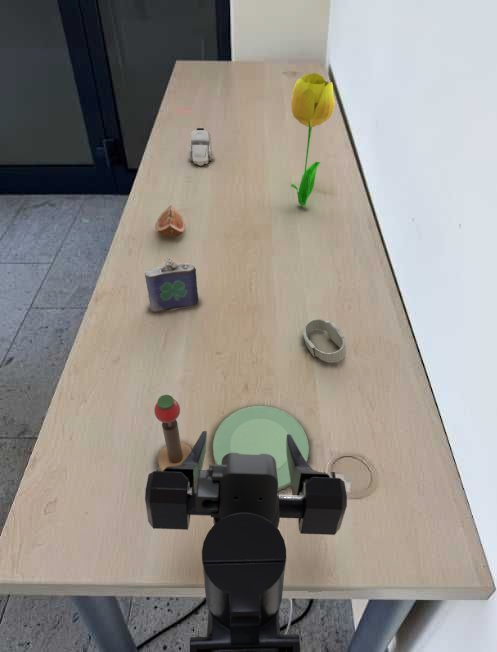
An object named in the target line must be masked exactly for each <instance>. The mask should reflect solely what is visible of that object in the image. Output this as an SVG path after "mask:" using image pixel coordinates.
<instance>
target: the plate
mask: <svg viewBox="0 0 497 652" xmlns="http://www.w3.org/2000/svg"><path fill="white" fill-rule="evenodd" d="M287 434H290V435H291V436H292V438H293V440H294V441H295V443H296V445H297V447H298V449H299V450H300V452H301V454H302V456H303V458H304V459H305V461H306V462H307V463H308V459H309V452H310V448H309V447H310V445H309V441H308V438H307V434H306V432H305V430H304V428H303V427H302V425H301V424H300V423H299V422H298V420H297V419H296V418H295V417H293V416H292V415H290V414H288V413H287V412H286V411H283V410H281V409H279V408H276V407H272V406H268V405H267V406H266V405H253V406H248V407H244V408H241V409H238V410H236V411H234V412H232V413H231V414H230V415H228V416H227V417H225V419H223V421H222V422H221V423H220V424H219V426H218V427H217V429H216V431H215V434H214V437H213V441H212V453H213V459H214V464H215V465H221V464H222V459H223V457H224V456H225V455H226V454H228V453H239V454H250V455H259V454H269V455H271V456H273V457H274V459H275V461H276V468H277V477H278V492H279V491H281V490H284V489H286V488H288V487H290V486H291V481H290V475H289V468H288V461H287V454H286V437H287Z"/></svg>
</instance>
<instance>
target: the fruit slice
mask: <svg viewBox="0 0 497 652" xmlns="http://www.w3.org/2000/svg"><path fill="white" fill-rule="evenodd" d="M186 228H187V227H186V222H185V220H184V219H183V217H182V215H181V214H180V213H179V211H178V210H177V209H176V208H175V207H174V206H172V205H169V206H168V207H167V208H166V209H164V210H163V211H162V212H161V213H160V215H159V216H158V218H157V219H156V223H155V230H156V231H157V232H158V233H159V234H161V235H164V236H166V237H175V236H179V235H181V234H183V233H184V232H185V231H186Z"/></svg>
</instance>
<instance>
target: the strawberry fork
mask: <svg viewBox="0 0 497 652" xmlns="http://www.w3.org/2000/svg"><path fill="white" fill-rule="evenodd" d="M153 411H154V412H153V413H154V416H155V418H156V419H157V420H158V421H159V422H161V428H162V433H163V437H164V443H165V446H163V447H162V448H161V450H160V451H159V453H158V455H157V463H158V468H159V471H164V469H165V468H166V467H174V466H178V465H181V464H182V463H183V461H184V460H185V459H186V458H187V457H188V455H189V454H190V452H191V451H192V448H191V447H190V445H188V444H186V443H184V442H181V437H180V430H179V425H178V421H177V419H178V418H179V416H180V413H181V407H180V403H179V401H177V400H176V399H174V397H173V396H172V395H170V394H163V395H160V396H159V397H158V398H157V401H156V404H155V405H154V408H153Z"/></svg>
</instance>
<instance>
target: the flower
mask: <svg viewBox="0 0 497 652" xmlns="http://www.w3.org/2000/svg"><path fill="white" fill-rule="evenodd" d="M335 101H336V99H335V95H334V84H333V82H332V81H331V82H329V81H326V80H325V78H324V76H323V75H321V74H319V73H316V72H313V73H308V74H307V73H305V74H303V75H301V78H298V79H297V80H296V81H295V84H294V87H293V90H292V94H291V104H290V110H291V113H292V117H293V118H294V119H296V121H298V123H300V124H301V125H303V126H305V127H306V128H308V134H307V144H306V145H307V146H306V153H305V154H306V155H305V165H304V172H303V173H302V176H301V180H300V184H299V188H298V187H297V185H296V184H291V185H290V187H291V188H293V189H295V191H296V193H297V201H298V203H299V205H300V208H301V209H302V208H303V206H304V207H305V206H306V205H307V202H308V199H309V197H310V196H311V194H312V192H313V189H314V186H315V180H316V174H317V170H318V167H319V166H320V165H321V162H319V161H315V162H313V163H312V164H311V165H310V166H309V167H308V168H307V165H308V158H309V151H310V143H311V142H310V141H311V137H312V134H311V133H312V128H313V127H316V126H321V125H322V124H324V123H325V122H327V120H329V119H330V118H331V117H332V115H333V112H334V110H335V104H336V103H335Z"/></svg>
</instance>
